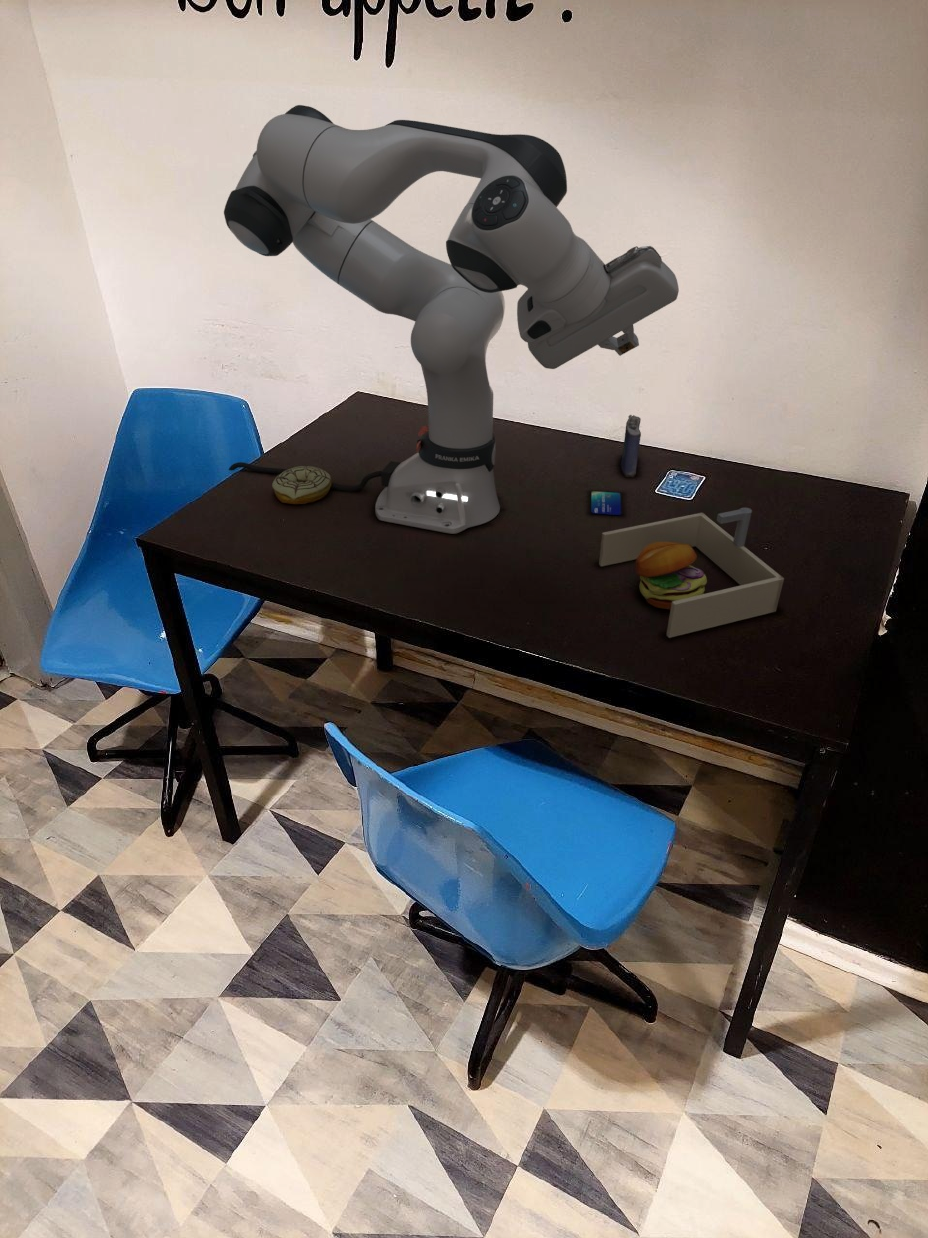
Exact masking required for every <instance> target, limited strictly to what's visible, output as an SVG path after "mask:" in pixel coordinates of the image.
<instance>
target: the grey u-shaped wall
mask: <svg viewBox="0 0 928 1238" xmlns="http://www.w3.org/2000/svg"><path fill="white" fill-rule="evenodd" d="M752 513H753V510H752V509H751V508H750V507H741V508H738V509H735V510H729V511H726V512H720V513H717V517H716V522H718V523H719V524H720V525H723V524H729V523H733V522H736V527H735V532H734V536H732V535H730V534H729V532H727V531H726V530H725V529H723V528H722V527H721V526H720V525H718V523H716V522H715V521H713V520H712V519H711V518H709V517H708V516H707V515H706V514H705V513H704V512H697V513H693V514H690V515H689V514H688V515H682V516H678V517H673V518H668V519H663V520H658V521H654V522H653V521H652V522H649V523H644V524H640V525H639V524H638V525H634V526H629V527H624V528H619V529H614V530H609V531H603V532H602V533H601V541H600V550H599V558H598V565H599V566H600V567H607V566H610V565H615V564H619V563H620V564H621V563H624V562H629V561H633V560H637V558H638V556H639V554H640V553H641V551H642V550H643V549H644V548H645V547H646V546H648V545H649V544H652V543H655V542H673V543H682V544H688V545H690V546H691V547H692V548H694V547H696V548H697V549H698V550H699V551H700V552H701V553H703V555H704V556H706V557H707V558H708V559H709V560H710V561H712V562H713V564H715V565H716V566H717V567H719V568H720V569H721V570H722V571H723V572H724V573H726V574H727V575H728V576H729V577H730V578H731V579H732V580H733V581H735V582H736V583H737V584H738V585H736V586H733V587H728V588H724V589H720V590H716V591H711V592H707V593H704V594H702V595H698V596H694V597H689V598H685V599H681V600H677V601H672V604H671V610H670V609H669V615H668V616H669V617H668V623H667V629H666V633H665V634H666V637H667V638H669V639H671V638H675V637H679V636H684V635H686V634H690V633H695V632H699V631H703V630H707V629H711V628H715V627H720V626H723V625H727V624H731V623H735V622H738V621H743V620H747V619H748V620H749V619H752V618H755V617H759V616H763V615H769V614H772V613H776V612H777V609H778V604H779V601H780V597H781V593H782V589H783V585H784V581H785V578H784V577H783V576H782V575H781V574H779V573H778V572H777V571H776V570H774V569H773V568H772V567H771V566H769V565H768V564H767V563H765V562H764V561H763V560H762V559H761V558H759V556H757V555H756V554H754V553H753V552H752V551H750V550H749V549H748V548H747V547H746V541H747V537H748V532H749V527H750V523H751V518H752Z"/></svg>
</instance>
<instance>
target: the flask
mask: <svg viewBox="0 0 928 1238" xmlns="http://www.w3.org/2000/svg"><path fill="white" fill-rule="evenodd" d="M641 421H642V419H641V417H639V416H636V415H634V414H633V415H632V414H629V415H628V419H627V421H626V423H625V429H624V430H625V432H624V439H623V449H622V455H621V462H620V468H621V473H622V474H623V476H624V477H627V478H634V477H635V476H636V475H637V465H638V460H639V459H638V457H639V449H640V444H641V443H640V442H641V437H642V432H641V430H640V425H641Z"/></svg>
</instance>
